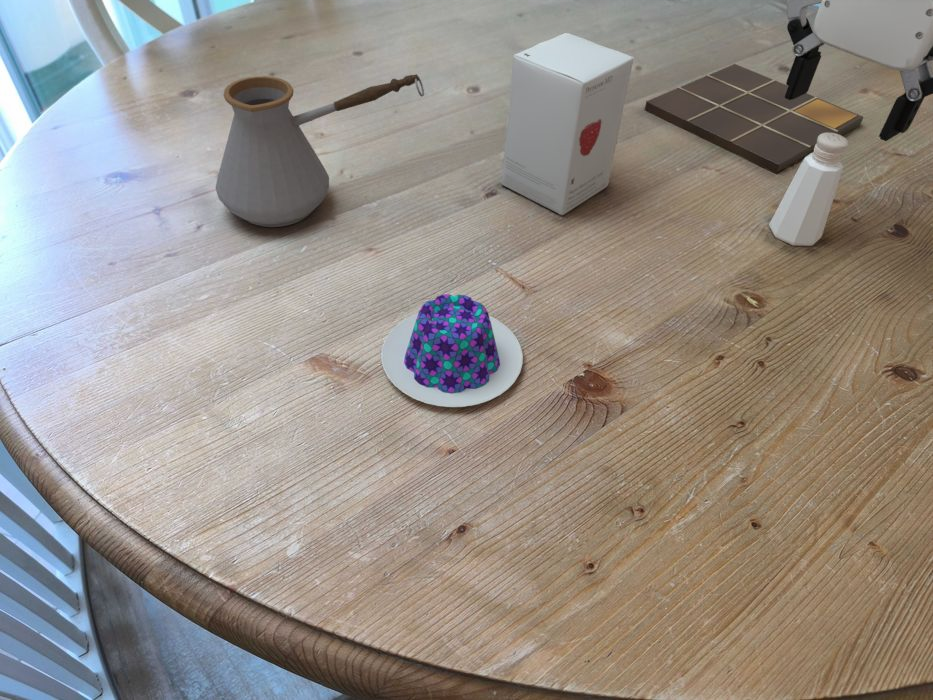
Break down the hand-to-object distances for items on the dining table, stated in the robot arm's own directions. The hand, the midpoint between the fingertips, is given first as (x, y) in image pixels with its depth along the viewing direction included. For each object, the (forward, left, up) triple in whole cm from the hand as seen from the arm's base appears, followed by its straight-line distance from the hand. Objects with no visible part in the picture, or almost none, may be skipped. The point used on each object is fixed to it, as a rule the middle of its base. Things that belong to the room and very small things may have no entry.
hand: (840, 115), depth 70 cm
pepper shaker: (0, 0, -14) cm, 14 cm away
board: (+18, -19, -13) cm, 30 cm away
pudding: (+8, +41, -14) cm, 44 cm away
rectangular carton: (+22, +14, -14) cm, 29 cm away
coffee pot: (+34, +37, -14) cm, 52 cm away
